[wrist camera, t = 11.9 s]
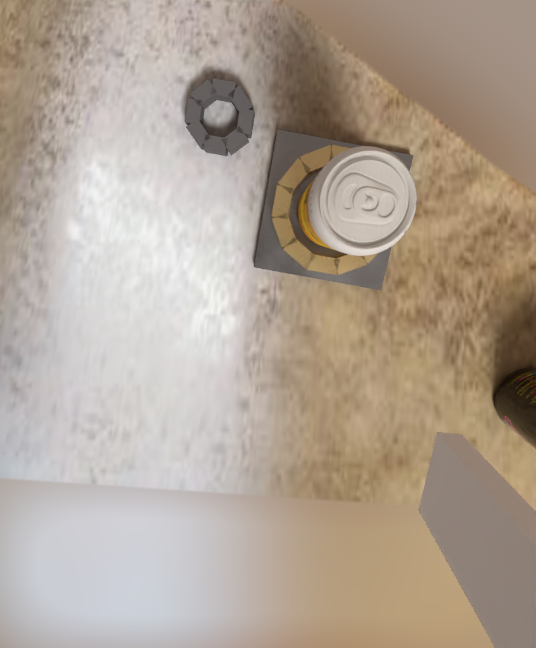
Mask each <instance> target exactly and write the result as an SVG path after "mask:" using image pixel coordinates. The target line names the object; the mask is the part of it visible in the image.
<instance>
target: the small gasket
mask: <svg viewBox="0 0 536 648" xmlns="http://www.w3.org/2000/svg"><path fill="white" fill-rule="evenodd" d="M190 94H191V96H192V97H193V99H191V98H188V101H187V109H186V117H185V123H186V124H187V125H188V126H186V128H187V129H188V131H189V132H190V133H191V135H192V136H193V138H194V139H195V141H196V142H197V144H198V145H199V147H200V148H201V149H202V150H203V149H204V150H205V152H207V153H213V154H218V155H223V156H227V154H228V151H229V152H230V154H231V155H232V154H234V153H235V152H236V151H238V150H239V149H240V148H242V147H243V146H244V145H246V144H247V143H248V142H249V141H248V138H251V135H252V129H253V123H254V116H255V114H254V109H253V105H252V103H251V102H250V100H249V99H248V97H247V96H246V94H245V93H244V91H243V89H242V88H241V86H240V85H239V86H238V87H237V85H236V82H231V81H226V80H221V79H216V78H213V82H212V84H211V82H210V81H209V79H208V80H207V81H205V82H204V83H203V84H202V85H200V86H199V87H198V88H197V89H195V90H194V91H193V92H192V93H190ZM216 100H221V101H226V102H231V103H232V104H233V105H234V107H235V108H236V110H237V111H238V113H239V117H238V123H237V128H236V129H235V130H234V131H232V132H231V133H230V134H228V135H227V136H226V137H225V138H222V137H217V136H212V135H208V133H207V132H206V130H205V129H204V127H203V126H202V124H203V116H204V109H205V108H207V107H208V106H209V105H211V104H212V103H213V102H214V101H216Z"/></svg>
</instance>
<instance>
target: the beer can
mask: <svg viewBox="0 0 536 648" xmlns="http://www.w3.org/2000/svg"><path fill="white" fill-rule="evenodd" d="M416 203H417V195H416V187H415V183H414V180H413V177H412V175H411V173H410V171H409V170H408V168H407V166H406V165H405V164H404V163H403V162H402V161H401V160H400V159H399V158H398V157H397V156H395V155H394V154H392V153H391V152H389V151H387V150H384V149H382V148H378V147H372V146H360V147H354V148H351V149H348V150H345V151H343V152H341V153H339V154H338V155H336V156H335V157H333V158H332V159H331V160H330V161H329V162H328V163H327V164H326V165H325V166H324V167H323V168H322V170H321V171H320V172H319V173H318V175H317V176H316V177H315V178H314V180H313V181H312V182H311V183H310V185H309V186H308V187H307V188H306V190H305V191H304V193H303V194H302V196H301V198H300V201H299V205H298V220H299V224H300V227H301V229H302V231H303V232H304V234H305V235H306V236H307V237H308V238H309V239H310V240H311V241H313V242H314V243H316V244H318V245H321V246H324V247H327V248H330V249H333V250H336V251H339V252H342V253H346V254H349V255H355V256H367V255H373V254H376V253H379V252H382V251H384V250H386V249H388V248H389V247H391V246H392V245H394V244H395V243H396V242H397V241H398V240H399V239H400V238H401V237H402V236H403V235H404V234H405V233H406V231H407V229H408V228H409V226H410V224H411V222H412V220H413V217H414V214H415V210H416Z"/></svg>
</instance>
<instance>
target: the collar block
mask: <svg viewBox="0 0 536 648" xmlns="http://www.w3.org/2000/svg"><path fill="white" fill-rule="evenodd" d="M360 146H362V145H357V144H352V143H346V142H341V141H336V140H331V139H325V138H320V137H315V136H310V135H304V134H299V133H294V132H289V131H284V130H277V136H276V141H275V147H274V153H273V159H272V165H271V171H270V176H269V182H268V188H267V194H266V200H265V206H264V211H263V217H262V223H261V229H260V235H259V241H258V246H257V252H256V258H255V264H254V267H256V268H261V269H267V270H272V271H278V272H283V273H289V274H295V275H300V276H306V277H311V278H317V279H322V280H328V281H333V282H339V283H344V284H350V285H355V286H361V287H366V288H372V289H377V290H381V287H382V283H383V279H384V275H385V271H386V267H387V263H388V258H389V254H390V250H391V247H389V248H388V249H386V250H384V251H382V252H379V253H376V254H373V255H367V256H355V255H349V254H346V253H342V252H339V251H336V250H333V249H330V248H327V247H324V246H321V245H318V244H316V243H314V242H313V241H311V240H310V239H309V238H308V237H307V236H306V235H305V234H304V232H303V231H302V229H301V227H300V224H299V220H298V205H299V201H300V198H301V196H302V194H303V193H304V191H305V190H306V188H307V187H308V186H309V185H310V183H311V182H312V181H313V180H314V178H315V177H316V176H317V175H318V173H319V172H320V171H321V170H322V168H323V167H324V166H325V165H326V164H327V163H328V162H329V161H330V160H331V159H332V158H333V157H335V156H336V155H338V154H339V153H341V152H343V151H345V150H348V149H351V148H354V147H360ZM387 151H388V150H387ZM389 152H391V153H392V154H394V155H395V156H397V157H398V158H399V159H400V160H401V161H402V162H403V163H404V164H405V165H406V166H407V168H408V170H409V171H410V167H411V163H412V159H413V155H409V154H404V153H399V152H393V151H389Z"/></svg>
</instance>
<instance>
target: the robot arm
mask: <svg viewBox="0 0 536 648" xmlns="http://www.w3.org/2000/svg"><path fill="white" fill-rule="evenodd" d="M419 512H420V514H421V515H422V517H423V519H424V521H425V522H426V525H427V526H428V528H429V530H430V532H431V534H432V535H433V537H434V539H435V541H436V542H437V544H438V546H439V548H440V550H441V552H442V553H443V555H444V557H445V559H446V561H447V562H448V564H449V566H450V568H451V570H452V571H453V573H454V575H455V577H456V579H457V580H458V582H459V584H460V586H461V588H462V589H463V591H464V593H465V595H466V597H467V598H468V600H469V602H470V603H471V605H472V607H473V609H474V611H475V613H476V614H477V616H478V618H479V620H480V622H481V623H482V625H483V627H484V629H485V631H486V633H487V634H488V636H489V638H490V640H491V642H492V643H493V645H494V647H495V648H536V511H535V510H534V509H533V508H532V507H531V506H530V505H529V504H528V503H527V502H526V501H525V500H524V499H523V498H522V497H521V496H520V495H519V494H518V493H517V492H516V491H515V490H514V488H513V487H512V486H511V485H510V484H509V483H508V482H507V481H506V480H505V479H504V478H503V477H502V476H501V475H500V474H499V473H498V472H497V471H496V470H495V469H494V468H493V467H492V466H491V465H490V464H489V462H488V461H487V460H486V459H485V458H484V457H483V456H482V455H481V454H480V453H479V452H478V451H477V450H476V449H475V448H474V447H473V446H472V445H471V444H470V443H469V442H468V441H467V440H466V439H465V438H464V437H463V435H459V434H451V433H442V432H437V436H436V440H435V444H434V449H433V453H432V457H431V461H430V465H429V469H428V473H427V478H426V482H425V486H424V490H423V494H422V498H421V503H420V507H419Z"/></svg>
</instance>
